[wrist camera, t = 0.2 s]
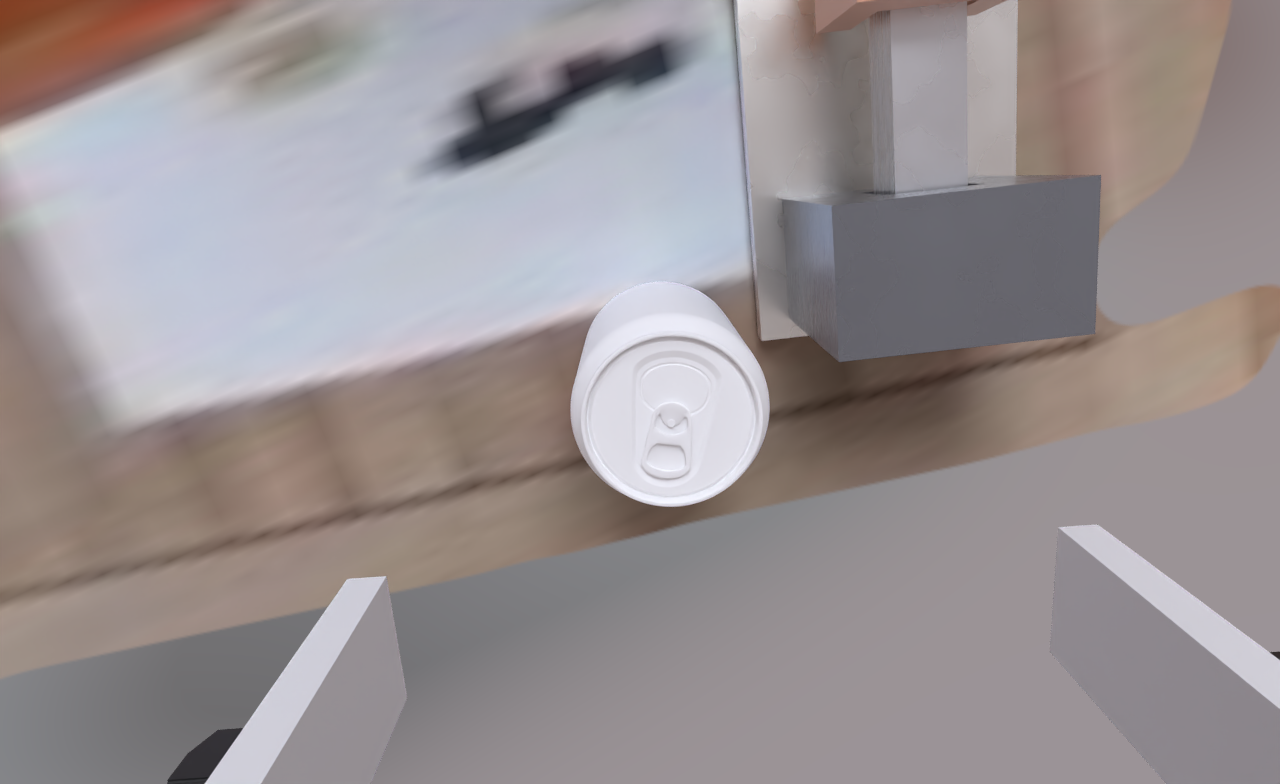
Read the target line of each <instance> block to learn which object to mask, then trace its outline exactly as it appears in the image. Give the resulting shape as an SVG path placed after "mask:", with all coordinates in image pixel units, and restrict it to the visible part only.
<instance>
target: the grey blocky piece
mask: <svg viewBox="0 0 1280 784" xmlns="http://www.w3.org/2000/svg"><path fill="white" fill-rule="evenodd" d="M733 1H734V15H735V29H736V42H737V56H738V69H739V83H740V96H741V110H742V124H743V137H744V151H745V164H746V178H747V192H748V205H749V219H750V232H751V246H752V260H753V273H754V287H755V300H756V314H757V328H758V337H759V338H760V339H761V341H766V340H775V339H784V338H793V337H802V336H810V337H811V338H812V339H813V340H814V341H816V342H817V343H818V344H819V345H820V346H821V347H822V348H824V349H825V350H826V351H827V352H828V353H829V354H830V355H831V356H833V357H834V358H835V359H836V360H837V361H838V362H844V361H853V360H862V359H871V358H880V357H889V356H898V355H907V354H916V353H925V352H934V351H943V350H953V349H962V348H971V347H980V346H989V345H998V344H1007V343H1016V342H1025V341H1034V340H1043V339H1052V338H1061V337H1070V336H1079V335H1088V334H1095V322H1096V296H1097V269H1098V268H1097V267H1098V242H1099V215H1100V188H1101V175H1028V176H1016V111H1017V17H1018V0H1007V1H1005V2H1002V3H1000V4H998V5H996V6H994V7H992V8H990V9H987V10H985V11H983V12H981V13H979V14H977V15H972V16H967V101H968V186H961V187H952V188H943V189H935V190H926V191H917V192H908V193H899V194H891V195H881V194H874V179H873V149H872V120H871V90H870V61H869V31H868V18H867V19H866V20H864V21H863V22H861V23H860V24H858V25H857V26H855V27H854V28H852V29H851V30H844V31H835V32H826V33H818V34H816V18H815V0H733Z"/></svg>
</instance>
